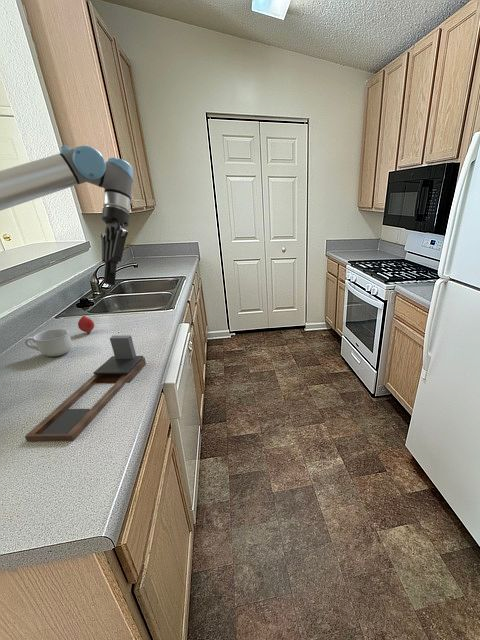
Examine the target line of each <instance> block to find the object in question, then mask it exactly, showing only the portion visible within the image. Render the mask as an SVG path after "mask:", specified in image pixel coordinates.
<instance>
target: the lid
mask: <svg viewBox="0 0 480 640" xmlns="http://www.w3.org/2000/svg"><path fill="white" fill-rule="evenodd" d="M109 341H110V345H111V348H112V352H113V355H112V356H110V357H109V358H108V359H107V360H106V361H105V362H104V363H103V364H102V365H100V366H99V367H98V368H96V370H95V371H93V375H94V374H128V373H129V372H130V371H131V370H132V369H133V368H134V366H135V365H136V364H137V363H138V362H139V361H140V360H141V359H142V358H143V357H144V355H137V354H136V350H135V346H134V341H133V338H132V335H131V334H129V335H128V334H127V335H126V334H125V335H112V336H111V337H109Z"/></svg>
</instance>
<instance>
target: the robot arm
mask: <svg viewBox="0 0 480 640" xmlns="http://www.w3.org/2000/svg"><path fill="white" fill-rule="evenodd" d="M84 183H88V184H90V185H94V186H97V187H99V188H102V189H103V190H104V191H103V197H102V198H103V199H102V209H101V210H102V212H101V220H102V221H103V222H104V223H105V225H106V226H105V229H104V233H101V234H100V239H101V262H102V263H105V264H104V265H105V266H104V276H103V284H105V285H108V286H115V285H116V277H117V268H118V267H117V266H118V265H119V263H121V262H122V258H123V254H124V249H125V246H126V240H127V238H128V235H129V231H128V230H126V229H125V228H127V227H129V225H130V224H129V223H130V212H131V209H132V207H131V202H132V191H133V185H134V184H133V183H134V169H133V167H132V165H131V164H130V163H129V162H128V161H126V160H124V159H123V158H117V157H109V158H108V159H107V161H106V160H105V158H104V156H103V154H102V153H101V152H100V151H99V150H97V149H96V148H94V147H92V146H88V145H79V146H76V147H75V148H74V147H70V146H67V145H61V146H60V149H59V153H56V154H53V155H50V156H46V157H43V158H42V157H41V158H39V159H36V160H32V161H29V162H26V163H25V162H24V163H22V164H19V165H15V166H12V167H9V168H5V169H1V170H0V212H1V211H3V210H7V209H10V208H12V207H15V206H18V205H21V204H24V203H27V202H31V201H33V200H37V199H40V198H42V197H45V196H49V195H51V194H54V193H57V192H61V191H63V190H66V189H68V188H69V189H70V188H73V187H75V186H77V185H82V184H84Z"/></svg>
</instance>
